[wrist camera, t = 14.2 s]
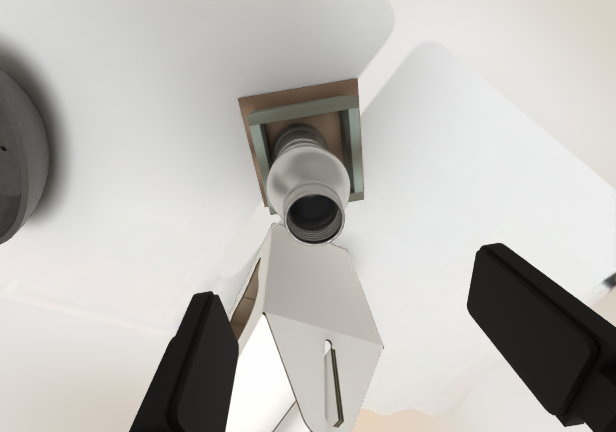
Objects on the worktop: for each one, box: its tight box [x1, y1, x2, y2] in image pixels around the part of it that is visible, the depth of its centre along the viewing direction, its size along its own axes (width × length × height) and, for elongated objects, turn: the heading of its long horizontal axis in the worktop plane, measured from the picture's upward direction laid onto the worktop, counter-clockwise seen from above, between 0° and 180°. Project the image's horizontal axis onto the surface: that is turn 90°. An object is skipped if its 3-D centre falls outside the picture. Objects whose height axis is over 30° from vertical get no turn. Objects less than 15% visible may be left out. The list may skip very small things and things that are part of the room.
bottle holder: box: [238, 78, 364, 215], centre depth 31 cm, size 14×14×7 cm
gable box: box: [225, 223, 384, 432], centre depth 32 cm, size 22×13×28 cm, turn 154°
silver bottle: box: [267, 123, 350, 246], centre depth 24 cm, size 6×7×20 cm
